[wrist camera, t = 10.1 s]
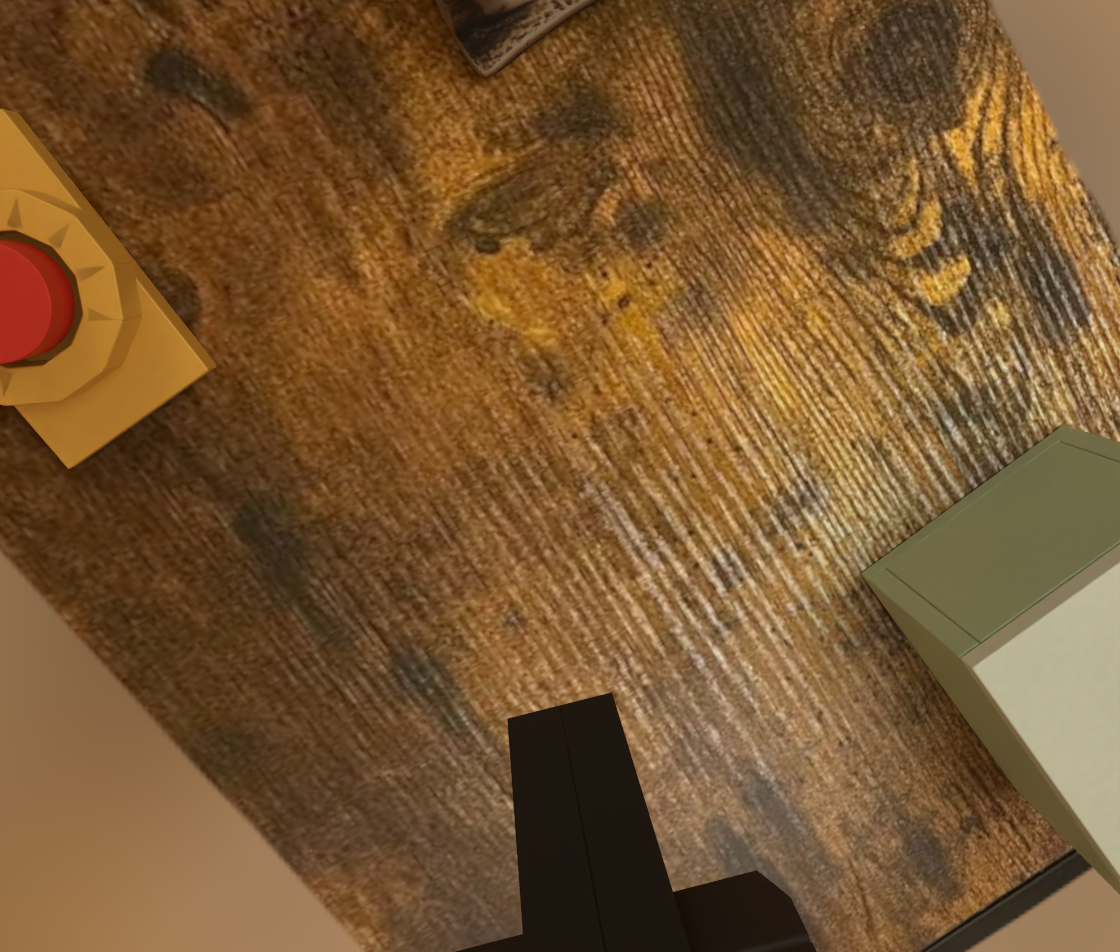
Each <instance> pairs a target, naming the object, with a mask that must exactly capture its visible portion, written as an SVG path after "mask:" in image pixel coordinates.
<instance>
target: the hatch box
mask: <svg viewBox="0 0 1120 952" xmlns="http://www.w3.org/2000/svg"><path fill="white" fill-rule="evenodd" d="M1119 544H1120V442H1117V441H1114V440H1111V439H1107V438H1104V437H1101V436H1098V435H1094V434H1091V433H1088V432H1085V431H1082V430H1078V429H1075V428H1072V427H1069V426H1066V425H1062V426H1061V427H1060V428H1058V429H1057V430H1055V431H1054V432H1053V433H1051V434H1050V435H1049V436H1047V437H1046V438H1045V439H1043V440H1042V441H1040V442H1039V443H1038V444H1036V445H1035V446H1034V447H1032V448H1031V449H1030V450H1028V451H1027V452H1025V453H1024V454H1023V455H1021V456H1020V457H1019V458H1017V459H1016V460H1015V461H1013V462H1012V463H1010V464H1009V465H1008V466H1006V467H1005V468H1004V469H1002V470H1001V471H1000V472H998V473H997V474H996V475H994V476H993V477H991V478H990V479H989V480H987V481H986V482H985V483H983V484H982V485H981V486H979V487H978V488H976V489H975V490H974V491H972V492H971V493H970V494H968V495H967V496H966V497H964V498H963V499H961V500H960V501H959V502H957V503H956V504H955V505H953V506H952V507H951V508H949V509H948V510H946V511H945V512H944V513H942V514H941V515H940V516H938V517H937V518H936V519H934V520H933V521H932V522H930V523H929V524H927V525H926V526H925V527H923V528H922V529H921V530H919V531H918V532H917V533H915V534H914V535H912V536H911V537H910V538H908V539H907V540H906V541H904V542H903V543H902V544H900V545H899V546H897V547H896V548H895V549H893V550H892V551H891V552H889V553H888V554H887V555H885V556H884V557H882V558H881V559H880V560H878V561H877V562H876V563H874V564H873V565H872V566H870V567H869V568H868V569H866V570H865V571H863V572H862V573H861V574H862V576H863V578H864V579H865V581H866V582H867V583H868V585H869V586H870V587H871V589H872V590H873V592H874V593H875V594H876V596H877V597H878V599H879V600H880V601H881V603H882V604H883V606H884V607H885V608H886V610H887V611H888V612H889V614H890V615H891V617H892V618H893V619H894V621H895V622H896V624H897V625H898V626H899V628H900V629H901V631H902V632H903V633H904V635H905V636H906V637H907V639H908V640H909V642H910V643H911V644H912V646H913V647H914V649H915V650H916V651H917V653H918V654H919V656H920V657H921V658H922V660H923V661H924V662H925V664H926V665H927V667H928V668H929V669H930V671H931V672H932V674H933V675H934V676H935V678H936V679H937V681H938V682H939V683H940V685H941V686H942V687H943V689H944V690H945V692H946V693H947V694H948V696H949V697H950V699H951V700H952V701H953V703H954V704H955V706H956V707H957V708H958V710H959V711H960V712H961V714H962V715H963V717H964V718H965V719H966V721H967V722H968V724H969V725H970V726H971V728H972V729H973V731H974V732H975V733H976V735H977V736H978V737H979V739H980V740H981V742H982V743H983V744H984V746H985V747H986V749H987V750H988V751H989V753H990V754H991V756H992V757H993V758H994V760H995V761H996V763H997V764H998V765H999V767H1000V768H1001V769H1002V771H1003V772H1004V774H1005V775H1006V776H1007V778H1008V779H1009V781H1010V782H1011V783H1012V785H1013V786H1014V788H1015V789H1016V790H1017V791H1018V792H1019V793H1020V794H1021V795H1022V796H1023V797H1024V798H1025V799H1026V800H1027V801H1028V802H1029V803H1030V804H1031V805H1032V806H1033V807H1034V808H1035V809H1036V810H1037V811H1038V812H1039V813H1040V814H1041V815H1042V816H1043V817H1044V818H1045V819H1046V820H1047V821H1048V822H1049V824H1050V825H1051V826H1052V827H1053V828H1054V829H1055V830H1056V831H1057V832H1058V833H1059V834H1060V835H1061V836H1062V837H1063V838H1064V839H1065V840H1066V841H1067V842H1068V843H1069V844H1070V845H1071V846H1072V847H1073V848H1074V849H1075V850H1076V851H1077V852H1078V853H1079V854H1080V855H1081V856H1082V857H1083V858H1084V859H1085V860H1086V861H1087V862H1088V863H1089V864H1090V865H1091V866H1092V867H1093V868H1094V869H1095V870H1096V871H1097V872H1098V873H1099V874H1100V875H1101V876H1102V877H1103V878H1104V879H1105V880H1106V881H1107V882H1108V883H1109V884H1110V885H1111V886H1112V887H1113V888H1114V889H1115V890H1116V891H1117V892H1118V893H1119V894H1120V882H1119V881H1118V880H1117V878H1116V877H1115V875H1114V874H1113V873H1112V871H1111V870H1110V868H1109V867H1108V866H1107V864H1106V863H1105V861H1104V860H1103V859H1102V857H1101V856H1100V854H1099V853H1098V852H1097V850H1096V849H1095V847H1094V846H1093V845H1092V843H1091V842H1090V840H1089V839H1088V837H1087V836H1086V835H1085V833H1084V832H1083V830H1082V829H1081V828H1080V826H1079V825H1078V823H1077V822H1076V821H1075V819H1074V818H1073V816H1072V815H1071V814H1070V812H1069V811H1068V809H1067V808H1066V807H1065V805H1064V804H1063V802H1062V801H1061V800H1060V798H1059V797H1058V795H1057V794H1056V793H1055V791H1054V790H1053V788H1052V787H1051V786H1050V784H1049V783H1048V781H1047V780H1046V779H1045V777H1044V776H1043V774H1042V773H1041V772H1040V770H1039V769H1038V767H1037V766H1036V765H1035V763H1034V762H1033V760H1032V759H1031V758H1030V756H1029V755H1028V753H1027V752H1026V751H1025V749H1024V748H1023V746H1022V745H1021V744H1020V742H1019V741H1018V739H1017V738H1016V737H1015V735H1014V734H1013V732H1012V731H1011V730H1010V728H1009V727H1008V725H1007V724H1006V722H1005V721H1004V720H1003V718H1002V717H1001V715H1000V714H999V713H998V711H997V710H996V708H995V707H994V706H993V704H992V703H991V701H990V700H989V699H988V697H987V696H986V694H985V693H984V692H983V690H982V689H981V687H980V686H979V685H978V683H977V682H976V680H975V679H974V678H973V676H972V675H971V673H970V672H969V671H968V669H967V668H966V666H965V665H964V664H963V662H962V661H961V658H962V657H963V656H965V655H966V654H967V653H969V652H970V651H972V650H973V649H974V648H976V647H977V646H979V645H980V644H981V643H983V642H984V641H986V640H987V639H988V638H990V637H991V636H992V635H994V634H995V633H997V632H998V631H999V630H1001V629H1002V628H1004V627H1005V626H1006V625H1008V624H1009V623H1011V622H1012V621H1013V620H1015V619H1016V618H1018V617H1019V616H1020V615H1022V614H1023V613H1024V612H1026V611H1027V610H1029V609H1030V608H1031V607H1033V606H1034V605H1036V604H1037V603H1038V602H1040V601H1041V600H1043V599H1044V598H1045V597H1047V596H1048V595H1050V594H1051V593H1052V592H1054V591H1055V590H1056V589H1058V588H1059V587H1061V586H1062V585H1063V584H1065V583H1066V582H1068V581H1069V580H1070V579H1072V578H1073V577H1075V576H1076V575H1077V574H1079V573H1080V572H1082V571H1083V570H1084V569H1086V568H1087V567H1088V566H1090V565H1091V564H1093V563H1094V562H1095V561H1097V560H1098V559H1100V558H1101V557H1102V556H1104V555H1105V554H1107V553H1108V552H1109V551H1111V550H1112V549H1113V548H1115V547H1116V546H1118V545H1119Z"/></svg>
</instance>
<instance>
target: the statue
mask: <svg viewBox="0 0 1120 952" xmlns="http://www.w3.org/2000/svg"><path fill="white" fill-rule="evenodd" d="M435 1H436V3H437V6H438V8H439V11H440V13H441V15H442V17H443V19H444V21H445V23H446V25H447V26H448V27H449V29H450V31H451V33H452V35H453V36H454V38H455V40H456V42H457V44H458V45H459V47H460V49H461V51H462V52H463V54H464V56H465V57H466V59H467V61H468V62H469V64H470V65H471V67H472V68H473V69H474V70H475V72H476V73H478V74H479V75H480V76H481V77H485V78H486V77H490V76H492V75H494V74H496V73H497V72H499V71H501V70H502V69H504V68H505V67H506V66H507V65H508V64H510V63H511V62H512V61H513V60H514V59H516V58H517V57H518V56H519V55H520V54H522V53H523V52H524V51H526V50H527V49H528V48H530V47H531V46H532V45H534V44H535V43H536V42H538V41H539V40H541V39H542V38H543V37H545V36H546V35H547V34H549V33H550V32H552V31H553V30H554V29H556V28H557V27H559V26H560V25H561V24H563V23H564V22H566V21H567V20H568V19H570V18H571V17H573V16H574V15H576V14H577V13H579V12H580V11H582V10H584V9H585V8H587V7H588V6H590V5H591V4H593V3H594V2H596V1H598V0H435Z"/></svg>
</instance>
